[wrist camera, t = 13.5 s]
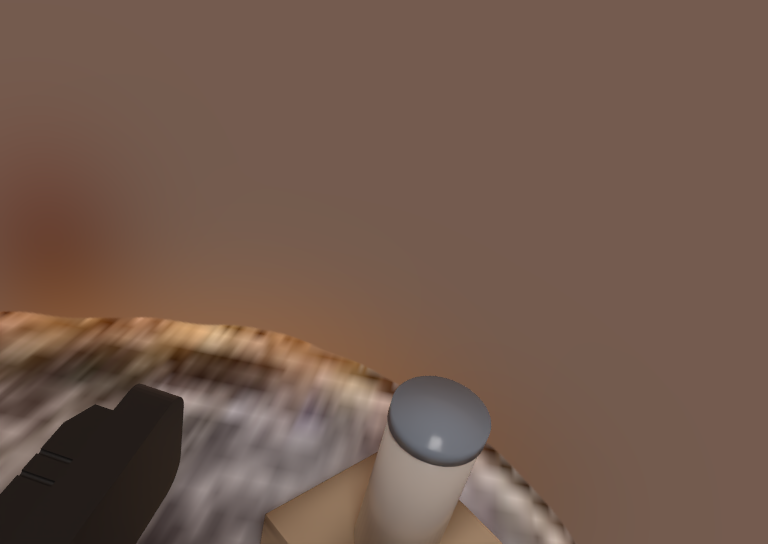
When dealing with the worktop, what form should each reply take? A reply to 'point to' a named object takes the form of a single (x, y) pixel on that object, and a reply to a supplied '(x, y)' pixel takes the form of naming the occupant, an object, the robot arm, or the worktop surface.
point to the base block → (351, 514)
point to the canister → (422, 462)
